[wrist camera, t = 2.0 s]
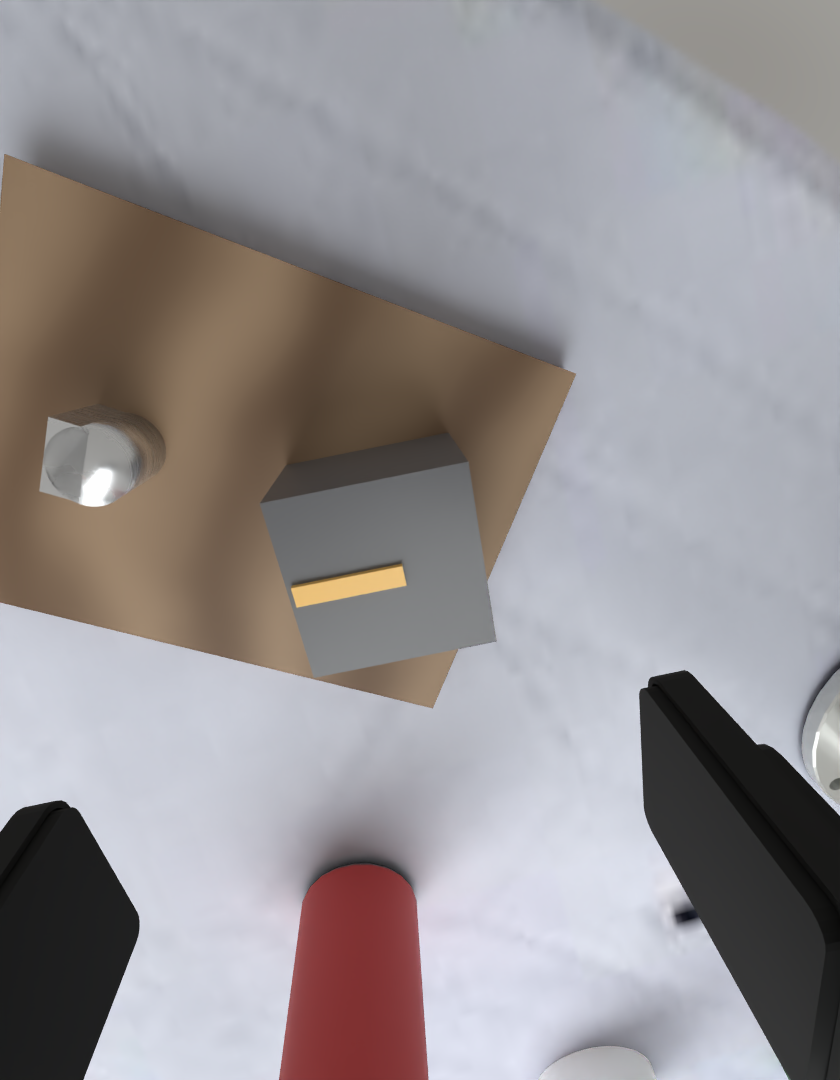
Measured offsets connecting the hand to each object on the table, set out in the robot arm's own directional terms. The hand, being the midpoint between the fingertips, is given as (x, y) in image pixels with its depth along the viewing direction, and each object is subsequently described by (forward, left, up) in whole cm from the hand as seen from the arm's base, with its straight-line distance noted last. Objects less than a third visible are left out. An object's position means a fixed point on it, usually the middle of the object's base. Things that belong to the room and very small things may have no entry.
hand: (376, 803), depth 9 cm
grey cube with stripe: (0, 0, -14) cm, 14 cm away
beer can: (-6, +23, -16) cm, 29 cm away
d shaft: (+10, 0, -14) cm, 17 cm away
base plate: (+5, 0, -16) cm, 16 cm away
